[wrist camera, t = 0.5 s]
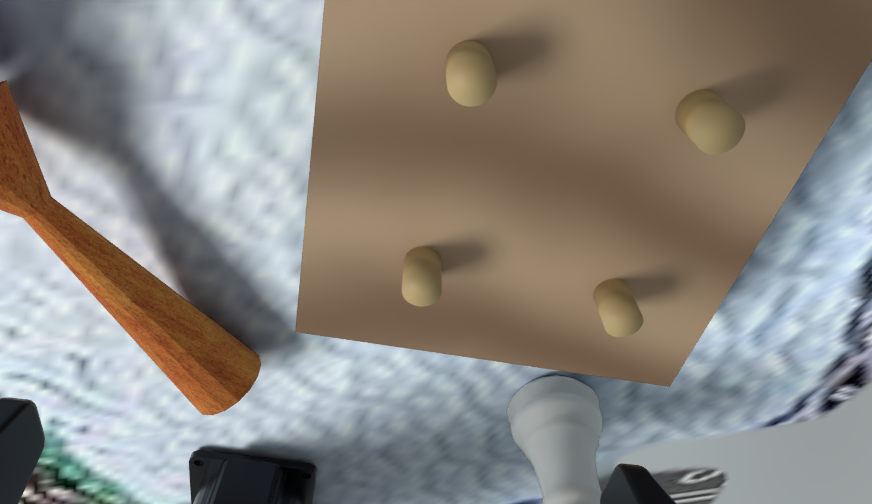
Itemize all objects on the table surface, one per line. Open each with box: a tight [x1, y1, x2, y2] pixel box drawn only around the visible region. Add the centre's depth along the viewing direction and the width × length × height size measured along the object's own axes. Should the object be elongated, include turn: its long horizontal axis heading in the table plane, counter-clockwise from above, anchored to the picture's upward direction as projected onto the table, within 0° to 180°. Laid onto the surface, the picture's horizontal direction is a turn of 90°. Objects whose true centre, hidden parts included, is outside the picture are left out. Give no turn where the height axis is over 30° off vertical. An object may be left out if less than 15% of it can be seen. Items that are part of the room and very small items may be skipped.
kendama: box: [0, 81, 261, 415], centre depth 19 cm, size 6×6×20 cm
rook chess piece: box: [507, 375, 603, 504], centre depth 25 cm, size 4×4×8 cm
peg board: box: [295, 0, 872, 387], centre depth 18 cm, size 14×14×6 cm
